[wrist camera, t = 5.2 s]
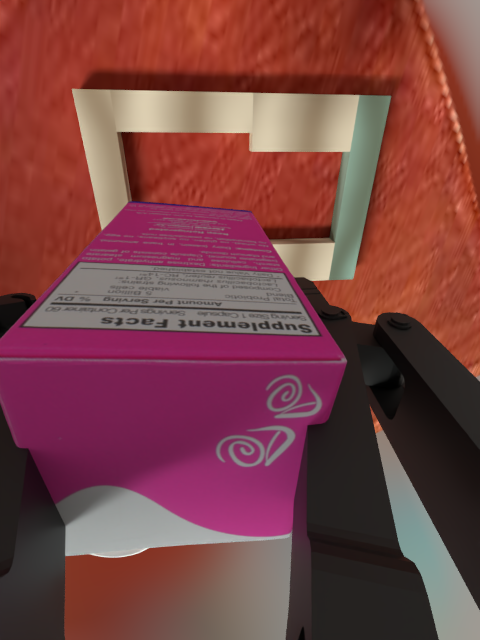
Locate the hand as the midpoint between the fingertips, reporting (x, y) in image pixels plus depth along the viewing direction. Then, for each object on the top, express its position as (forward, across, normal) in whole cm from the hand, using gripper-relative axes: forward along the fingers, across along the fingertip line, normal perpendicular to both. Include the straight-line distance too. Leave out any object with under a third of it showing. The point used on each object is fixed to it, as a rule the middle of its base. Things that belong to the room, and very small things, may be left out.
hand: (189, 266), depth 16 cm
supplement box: (+1, 0, 0) cm, 1 cm away
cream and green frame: (+15, +4, 0) cm, 15 cm away
